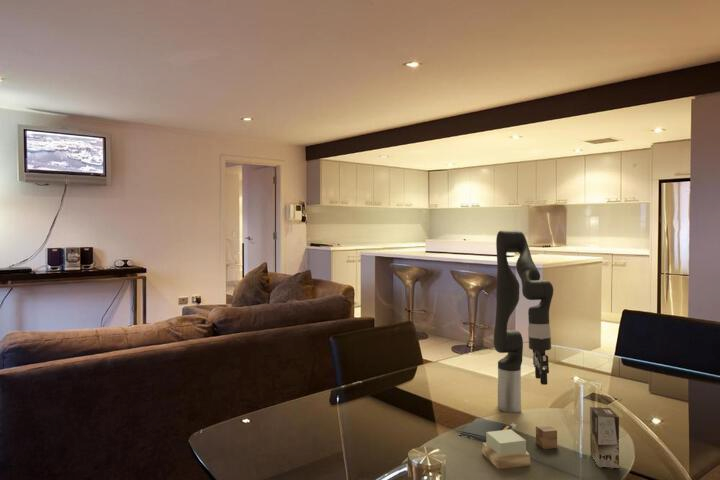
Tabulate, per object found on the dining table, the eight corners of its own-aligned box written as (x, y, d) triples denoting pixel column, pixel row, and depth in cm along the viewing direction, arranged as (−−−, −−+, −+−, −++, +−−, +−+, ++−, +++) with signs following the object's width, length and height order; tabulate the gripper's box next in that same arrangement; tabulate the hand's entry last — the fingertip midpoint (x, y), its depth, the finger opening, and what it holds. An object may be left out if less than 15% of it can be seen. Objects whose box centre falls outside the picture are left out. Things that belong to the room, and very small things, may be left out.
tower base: (482, 454, 159) (482, 442, 159) (512, 451, 161) (512, 439, 161) (498, 470, 148) (498, 457, 148) (530, 467, 150) (530, 454, 150)
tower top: (486, 444, 158) (486, 432, 158) (510, 441, 160) (510, 429, 160) (500, 456, 149) (500, 443, 149) (526, 452, 151) (526, 440, 151)
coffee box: (620, 469, 147) (619, 417, 147) (597, 467, 148) (597, 415, 148) (610, 456, 156) (610, 407, 156) (589, 454, 157) (589, 406, 157)
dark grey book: (476, 415, 190) (514, 423, 181) (476, 419, 190) (514, 428, 181) (455, 431, 174) (495, 441, 165) (455, 436, 174) (495, 446, 165)
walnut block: (535, 442, 167) (535, 425, 167) (548, 441, 168) (548, 424, 168) (543, 449, 162) (543, 431, 162) (557, 447, 163) (557, 430, 163)
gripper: (524, 332, 179) (526, 376, 178) (532, 339, 165) (534, 386, 164) (545, 332, 178) (547, 376, 177) (555, 339, 164) (557, 386, 163)
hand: (541, 381), depth 171 cm, fingers open, 8 cm apart
